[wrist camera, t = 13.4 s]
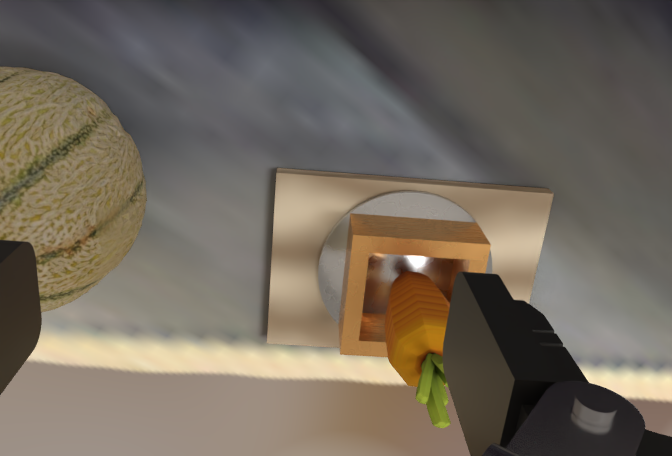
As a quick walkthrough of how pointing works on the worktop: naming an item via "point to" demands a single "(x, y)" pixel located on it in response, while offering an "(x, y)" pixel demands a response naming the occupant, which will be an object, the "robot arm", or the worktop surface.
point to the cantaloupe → (66, 181)
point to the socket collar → (393, 259)
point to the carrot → (419, 339)
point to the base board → (350, 190)
